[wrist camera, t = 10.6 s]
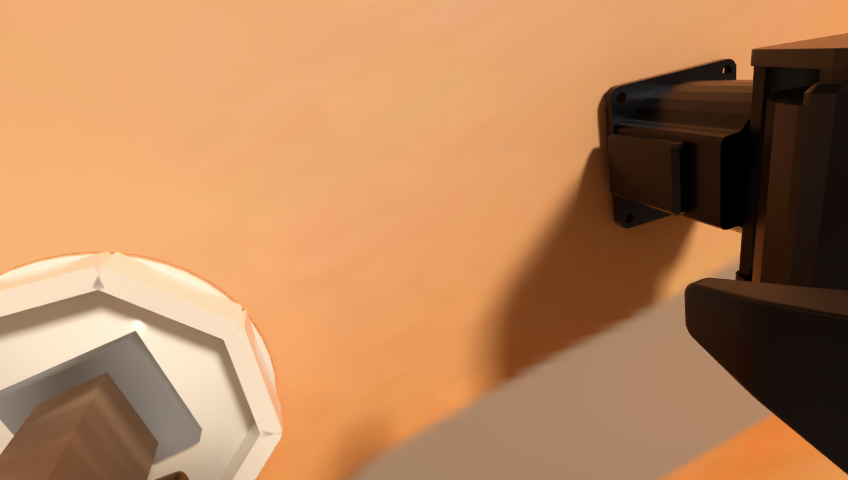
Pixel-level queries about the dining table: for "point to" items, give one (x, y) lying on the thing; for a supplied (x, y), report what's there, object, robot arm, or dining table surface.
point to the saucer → (150, 348)
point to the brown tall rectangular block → (95, 417)
